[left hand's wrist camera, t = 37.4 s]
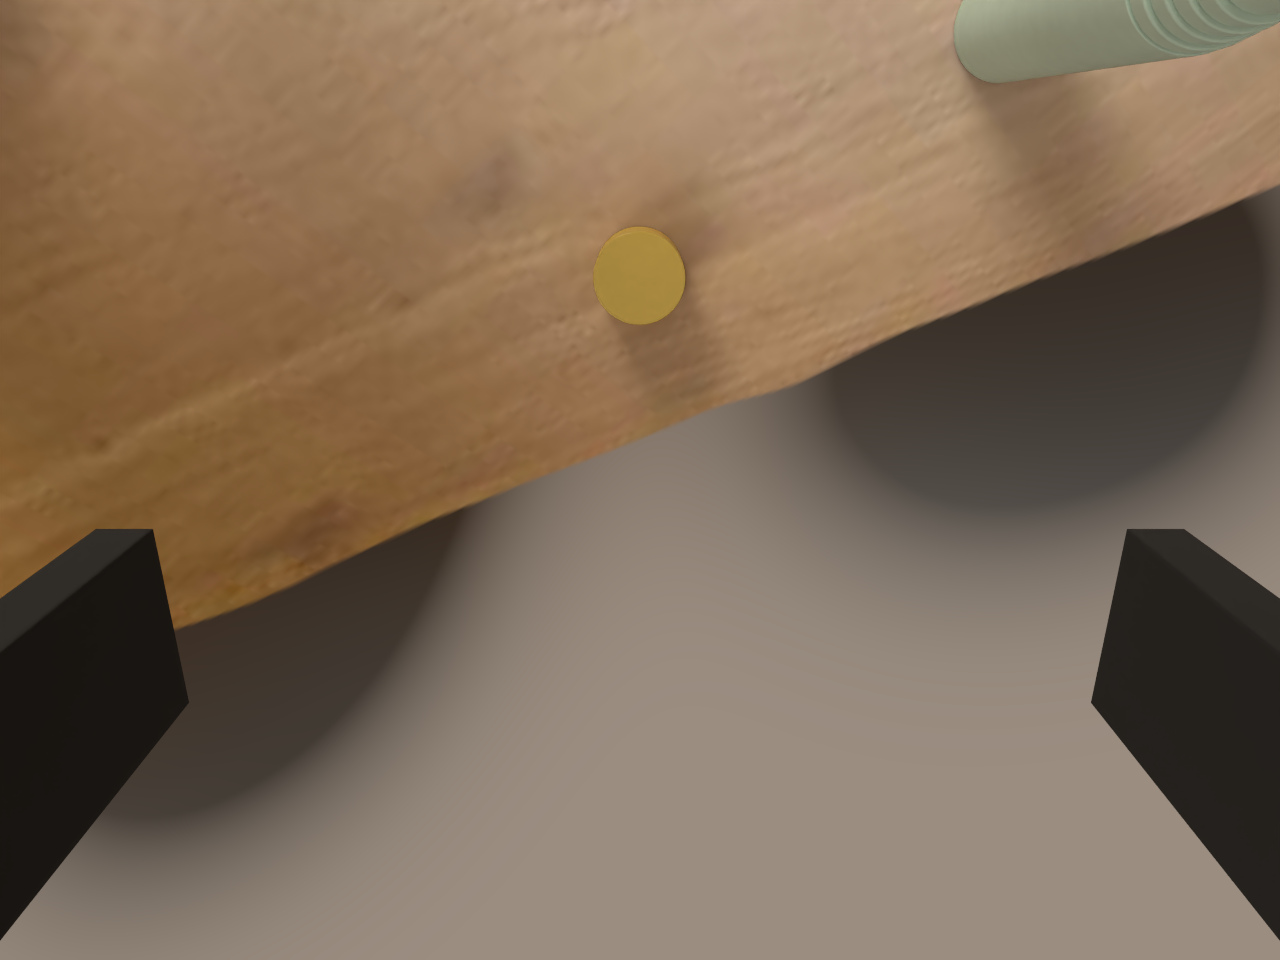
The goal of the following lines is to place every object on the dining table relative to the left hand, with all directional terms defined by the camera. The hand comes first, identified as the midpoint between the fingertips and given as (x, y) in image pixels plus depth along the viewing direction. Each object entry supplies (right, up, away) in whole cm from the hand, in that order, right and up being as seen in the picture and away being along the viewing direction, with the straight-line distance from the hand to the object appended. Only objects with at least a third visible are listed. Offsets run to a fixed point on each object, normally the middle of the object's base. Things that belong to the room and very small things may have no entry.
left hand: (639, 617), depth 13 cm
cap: (0, +11, +30) cm, 32 cm away
